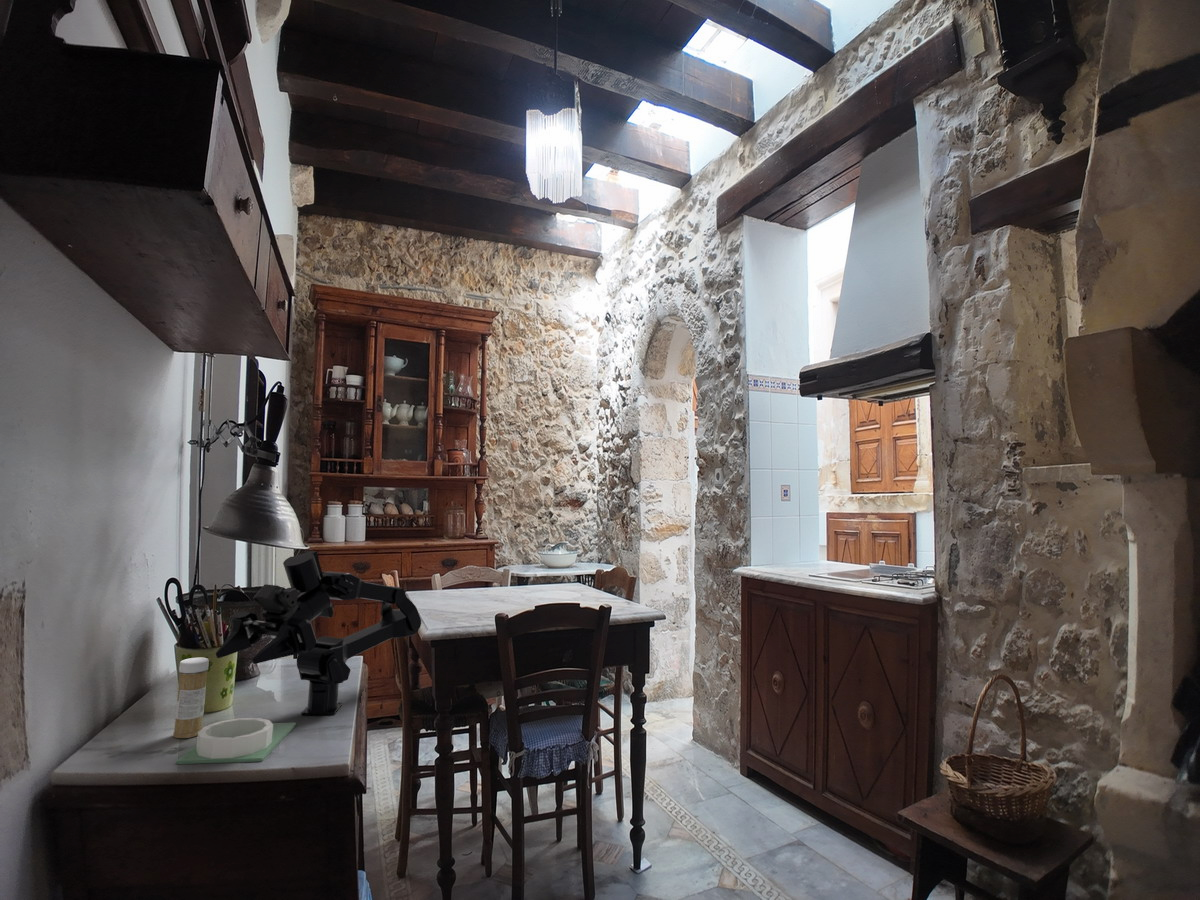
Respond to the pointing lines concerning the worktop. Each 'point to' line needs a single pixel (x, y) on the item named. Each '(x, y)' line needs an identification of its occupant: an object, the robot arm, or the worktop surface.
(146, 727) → the worktop surface
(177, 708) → the sprinkles bottle
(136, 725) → the worktop surface
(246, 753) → the practice green
